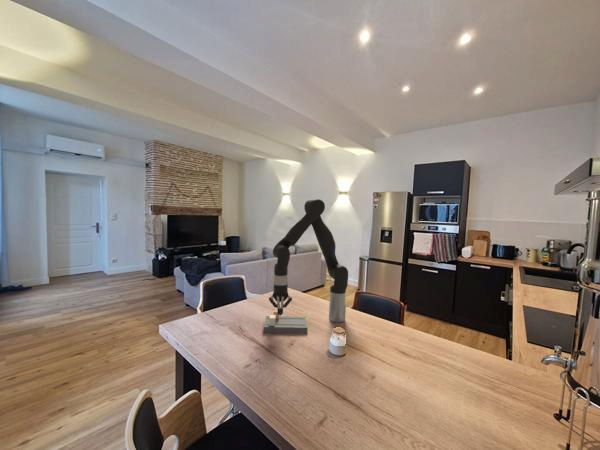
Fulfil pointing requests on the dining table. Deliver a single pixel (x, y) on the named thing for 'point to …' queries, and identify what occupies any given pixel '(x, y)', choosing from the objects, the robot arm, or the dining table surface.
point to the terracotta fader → (276, 313)
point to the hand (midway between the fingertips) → (280, 314)
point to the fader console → (286, 325)
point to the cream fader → (272, 320)
